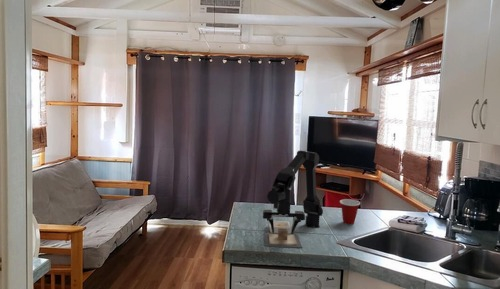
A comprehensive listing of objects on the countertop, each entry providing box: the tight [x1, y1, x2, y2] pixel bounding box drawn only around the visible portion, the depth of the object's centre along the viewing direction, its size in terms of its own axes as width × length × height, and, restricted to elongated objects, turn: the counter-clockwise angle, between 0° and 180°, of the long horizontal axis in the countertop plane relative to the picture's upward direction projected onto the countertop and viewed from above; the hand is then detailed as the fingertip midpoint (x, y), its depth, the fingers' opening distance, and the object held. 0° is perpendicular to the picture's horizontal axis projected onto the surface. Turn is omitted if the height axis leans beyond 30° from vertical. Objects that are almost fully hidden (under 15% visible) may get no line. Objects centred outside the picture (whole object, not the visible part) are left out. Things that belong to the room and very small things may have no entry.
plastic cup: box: [339, 198, 361, 225], centre depth 201 cm, size 11×11×12 cm
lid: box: [268, 228, 297, 245], centre depth 167 cm, size 12×12×5 cm
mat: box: [263, 232, 303, 249], centre depth 167 cm, size 16×16×1 cm
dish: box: [268, 220, 292, 235], centre depth 183 cm, size 10×10×3 cm
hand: (282, 233), depth 167 cm, fingers open, 8 cm apart
